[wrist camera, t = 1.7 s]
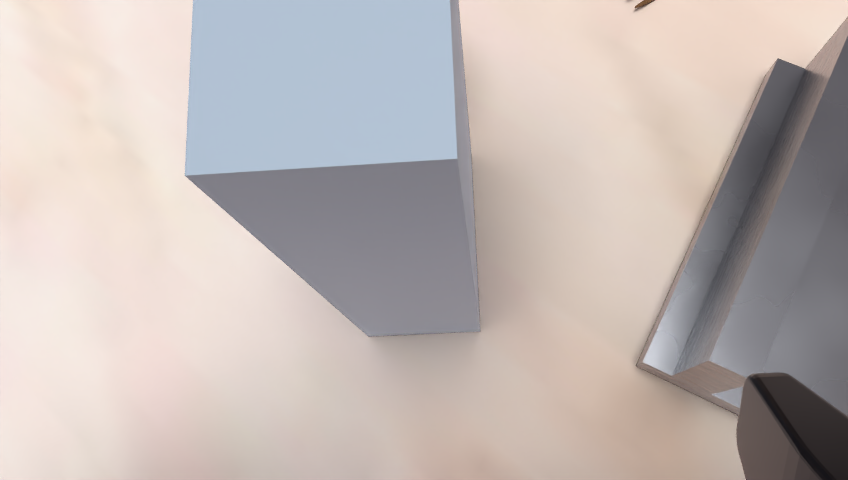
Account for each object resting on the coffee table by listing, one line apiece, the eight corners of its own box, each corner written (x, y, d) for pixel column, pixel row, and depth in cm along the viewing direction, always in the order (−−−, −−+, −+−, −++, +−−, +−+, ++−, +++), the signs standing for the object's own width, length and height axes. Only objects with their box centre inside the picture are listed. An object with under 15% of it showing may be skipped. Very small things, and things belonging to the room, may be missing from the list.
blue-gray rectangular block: (480, 331, 21) (457, 159, 8) (368, 336, 21) (184, 175, 9) (471, 154, 22) (439, -222, 10) (366, 161, 23) (202, -200, 10)
